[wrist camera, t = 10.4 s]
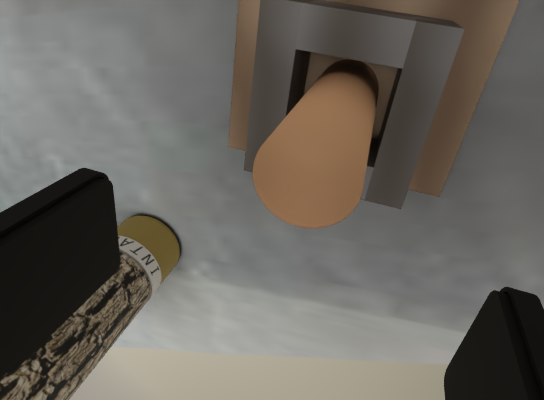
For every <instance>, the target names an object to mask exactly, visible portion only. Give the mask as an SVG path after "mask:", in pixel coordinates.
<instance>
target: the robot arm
mask: <svg viewBox="0 0 544 400" xmlns="http://www.w3.org/2000/svg"><path fill="white" fill-rule="evenodd" d="M119 265H120V250H119V241H118V231H117V221H116V212H115V202H114V193H113V185H112V183H111V181H109V179H108V177H107V175H106V174H104V173H101V172H98V171H94V170H91V169H87V168H81V169H78V170H77V171H75V172H73V173H71V174H69V175H68V176H66V177H64V178H62V179H60V180H59V181H57V182H55V183H53V184H51V185H50V186H48V187H46V188H44V189H42V190H40V191H39V192H37V193H35V194H33V195H31V196H30V197H28V198H26V199H24V200H22V201H21V202H19V203H17V204H15V205H13V206H12V207H10V208H8V209H6V210H4V211H3V212H1V213H0V379H1V378H2V377H3V376H4V375H5V374H6V373H10V372H12V371H14V370H16V369H17V368H18V367H19V366H20V365H21V364H22V363H23V362H24V361H25V360H26V359H27V358H28V357H30V356H31V355H32V354H33V353H34V352H35V351H36V350H37V349H38V348H39V347H40V346H41V345H42V344H43V343H44V342H45V341H46V340H47V339H48V338H49V337H50V336H51V335H52V334H53V333H54V332H55V331H56V330H57V329H58V328H59V327H60V326H61V325H62V324H63V323H64V322H65V321H66V320H67V319H68V318H70V317H71V316H72V315H73V314H74V313H75V312H76V311H77V310H78V309H79V308H80V307H81V306H82V305H83V304H84V303H85V302H86V301H87V300H88V299H89V298H90V297H91V296H92V295H93V294H94V293H95V292H96V291H97V290H98V289H99V288H100V287H101V286H102V285H103V284H104V283H105V282H106V281H107V280H109V279H110V278H111V277H112V276H113V275H114V274H115V272H116V271H117V270H118V268H119ZM444 390H445V400H544V309H543V307H542V304H541V302H540V300H539V298H538V296H536V295H534V294H531V293H527V292H524V291H520V290H517V289H513V288H509V287H504V288H503V289H501V290H500V292H499V291H492V292H491V293H490V294H489V296H488V297H487V299H486V301H485V303H484V304H483V306H482V308H481V310H480V311H479V313H478V315H477V317H476V318H475V320H474V322H473V324H472V325H471V327H470V329H469V330H468V332H467V334H466V336H465V337H464V339H463V341H462V343H461V344H460V346H459V348H458V350H457V351H456V353H455V355H454V357H453V358H452V360H451V362H450V364H449V365H448V367H447V369H446V372H445V377H444Z"/></svg>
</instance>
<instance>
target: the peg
mask: <svg viewBox="0 0 544 400" xmlns="http://www.w3.org/2000/svg"><path fill="white" fill-rule="evenodd" d="M378 94H379V84H378V79H377V77H376V75H375V73H374V71H373V70H372V69H371V68H370V67H369V66H368V65H367V64H365V63H364V62H361V61H358V60H352V59H344V60H340V61H337V62H335V63H333V64H332V65H330V66H329V67H328V68H327V69H326V70H325V71H324V72H323V73H322V75H321V76H320V77H319V78H318V79H317V81H316V82H315V83H314V84H313V85H312V86H311V88H310V89H309V90H308V91H307V92H306V94H305V95H304V96H303V97H302V98H301V99H300V101H299V102H298V103H297V104H296V105H295V107H294V108H293V109H292V110H291V111H290V113H289V114H288V115H287V116H286V117H285V118H284V120H283V121H282V122H281V123H280V124H279V126H278V127H277V128H276V129H275V130H274V131H273V133H272V134H271V135H270V136H269V137H268V139H267V140H266V141H265V142H264V143H263V145H262V146H261V147H260V149H259V151H258V153H257V155H256V157H255V160H254V165H253V181H254V185H255V189H256V191H257V194H258V196H259V198H260V199H261V201H262V202H263V204H264V205H265V206H266V207H267V208H268V209H269V210H270V211H271V212H272V213H273V214H274V215H275V216H277V217H278V218H280V219H282V220H283V221H285V222H287V223H290V224H292V225H295V226H299V227H304V228H321V227H326V226H330V225H333V224H335V223H338V222H339V221H341V220H343V219H344V218H345V217H347V216H348V215H349V214H350V213H351V212H352V211H353V210H354V208H355V207H356V206H357V204H358V202H359V200H360V197H361V195H362V191H363V185H364V179H365V173H366V167H367V161H368V155H369V149H370V143H371V136H372V130H373V124H374V118H375V112H376V106H377V100H378Z"/></svg>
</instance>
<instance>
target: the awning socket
mask: <svg viewBox="0 0 544 400" xmlns="http://www.w3.org/2000/svg"><path fill="white" fill-rule="evenodd" d="M519 1H520V0H239V3H238V17H237V32H236V46H235V60H234V74H233V88H232V102H231V117H230V131H229V145H228V147H231V148H235V149H240V150H244V151H246V154H245V164H244V170H245V171H249V172H253V165H254V160H255V157H256V155H257V153H258V151H259V149H260V147H261V146H262V145H263V143H264V142H265V141H266V140H267V139H268V137H269V136H270V135H271V134H272V133H273V131H274V130H275V129H276V128H277V127H278V126H279V124H280V123H281V122H282V121H283V120H284V118H285V117H286V116H287V115H288V114H289V113H290V111H291V110H292V109H293V108H294V107H295V105H296V104H297V103H298V102H299V101H300V99H301V98H302V97H303V96H304V95H305V94H306V92H307V91H308V90H309V89H310V88H311V86H312V85H313V84H314V83H315V82H316V81H317V79H318V78H319V77H320V76H321V75H322V73H323V72H324V71H325V70H326V69H327V68H328V67H329V66H330V65H332V64H333V63H335V62H337V61H340V60H344V59H352V60H358V61H361V62H364V63H365V64H367V65H368V66H369V67H370V68H371V69H372V70H373V71H374V73H375V75H376V77H377V79H378V84H379V94H378V100H377V106H376V112H375V118H374V124H373V130H372V136H371V143H370V149H369V155H368V161H367V167H366V173H365V179H364V185H363V191H362V195H361V197H360V199H362V200H366V201H370V202H375V203H379V204H383V205H387V206H391V207H395V208H399V209H401V208H402V205H403V202H404V199H405V196H406V193H407V191H408V190H412V191H416V192H421V193H425V194H429V195H433V196H438V197H440V194H441V192H442V189H443V187H444V184H445V182H446V180H447V177H448V175H449V172H450V170H451V167H452V165H453V162H454V160H455V157H456V155H457V153H458V150H459V148H460V145H461V143H462V140H463V138H464V135H465V133H466V131H467V128H468V126H469V123H470V121H471V118H472V116H473V113H474V111H475V108H476V106H477V104H478V101H479V99H480V96H481V94H482V91H483V89H484V86H485V84H486V82H487V79H488V77H489V74H490V72H491V69H492V67H493V64H494V62H495V59H496V57H497V55H498V52H499V50H500V47H501V45H502V42H503V40H504V37H505V35H506V33H507V30H508V28H509V25H510V23H511V20H512V18H513V15H514V13H515V10H516V8H517V6H518V3H519Z"/></svg>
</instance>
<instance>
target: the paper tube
mask: <svg viewBox="0 0 544 400" xmlns="http://www.w3.org/2000/svg"><path fill="white" fill-rule="evenodd" d="M117 231H118V241H119V250H120V265H119V268H118V270H117V271H116V272H115V274H114V275H113V276H112V277H111V278H110V279H109V280H107V281H106V282H105V283H104V284H103V285H102V286H101V287H100V288H99V289H98V290H97V291H96V292H95V293H94V294H93V295H92V296H91V297H90V298H89V299H88V300H87V301H86V302H85V303H84V304H83V305H82V306H81V307H80V308H79V309H78V310H77V311H76V312H75V313H74V314H73V315H72V316H71V317H70V318H68V319H67V320H66V321H65V322H64V323H63V324H62V325H61V326H60V327H59V328H58V329H57V330H56V331H55V332H54V333H53V334H52V335H51V336H50V337H49V338H48V339H47V340H46V341H45V342H44V343H43V344H42V345H41V346H40V347H39V348H38V349H37V350H36V351H35V352H34V353H33V354H32V355H31V356H30V357H28V358H27V359H26V360H25V361H24V362H23V363H22V364H21V365H20V366H19V367H18V368H17V369H16V370H14V371H12V372H10V373H6V374H5V375H4V376H3V377H2V378H1V379H0V400H69V399H70V398H71V396H72V395H73V394H74V393H75V391H76V390H77V389H78V388H79V386H80V385H81V384H82V383H83V381H84V380H85V379H86V378H87V376H88V375H89V374H90V373H91V371H92V370H93V369H94V368H95V366H96V365H97V364H98V362H99V361H100V360H101V359H102V358H103V356H104V355H105V354H106V352H107V351H108V350H109V349H110V347H111V346H112V345H113V344H114V342H115V341H116V340H117V339H118V337H119V336H120V335H121V334H122V332H123V331H124V330H125V329H126V327H127V326H128V325H129V324H130V322H131V321H132V320H133V319H134V317H135V316H136V315H137V314H138V312H139V311H140V310H141V309H142V307H143V306H144V305H145V304H146V302H147V301H148V300H149V298H150V297H151V296H152V295H153V293H154V292H155V291H156V290H157V288H158V287H159V286H160V284H161V283H162V282H163V281H164V279H165V278H166V277H167V275H168V274H169V273H170V272H171V270H172V269H173V268H174V267H175V265H176V264H177V262H178V260H179V256H180V250H179V244H178V241H177V239H176V237H175V235H174V234H173V232H172V231H171V230H170V229H169V228H168V227H167V226H166V225H165V224H163V223H162V222H160V221H159V220H157V219H155V218H152V217H148V216H133V217H130V218H128V219H127V220H125V221H124V222H123V223H122V224H120V225H119V226H118V227H117Z"/></svg>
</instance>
